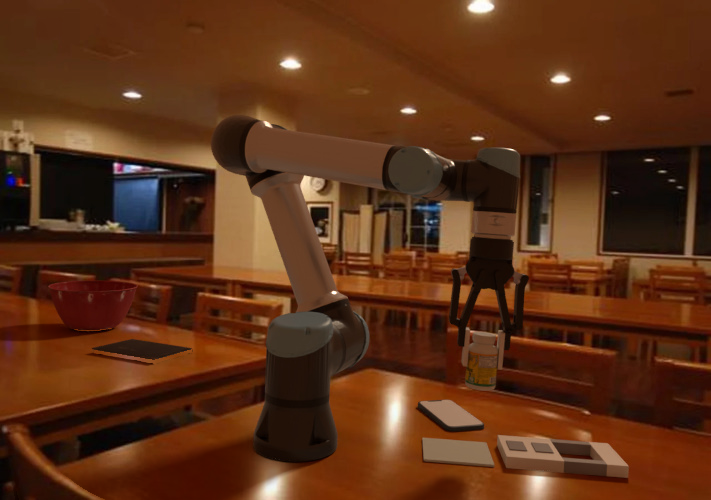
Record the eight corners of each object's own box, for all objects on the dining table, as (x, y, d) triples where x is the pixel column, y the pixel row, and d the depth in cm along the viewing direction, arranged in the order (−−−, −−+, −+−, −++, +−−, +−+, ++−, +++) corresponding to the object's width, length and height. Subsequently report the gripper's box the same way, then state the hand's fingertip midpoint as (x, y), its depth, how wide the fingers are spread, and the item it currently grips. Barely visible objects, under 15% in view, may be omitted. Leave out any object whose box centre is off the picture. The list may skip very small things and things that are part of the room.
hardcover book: (153, 366, 153) (153, 358, 153) (91, 355, 162) (91, 347, 162) (192, 355, 167) (192, 347, 167) (133, 345, 176) (133, 338, 176)
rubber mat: (423, 461, 97) (423, 459, 97) (422, 439, 107) (422, 437, 107) (494, 467, 96) (494, 464, 96) (486, 444, 106) (486, 442, 106)
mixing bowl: (143, 333, 193) (144, 288, 192) (48, 339, 178) (49, 290, 178) (130, 319, 217) (131, 280, 216) (46, 323, 203) (46, 280, 202)
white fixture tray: (506, 468, 96) (506, 455, 96) (497, 445, 106) (497, 433, 106) (628, 477, 94) (629, 465, 94) (607, 453, 104) (607, 442, 104)
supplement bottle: (498, 392, 98) (503, 338, 98) (467, 390, 98) (472, 335, 98) (490, 383, 104) (495, 331, 103) (462, 381, 104) (466, 329, 103)
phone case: (486, 432, 115) (450, 405, 130) (487, 424, 114) (450, 398, 130) (447, 435, 112) (415, 407, 127) (448, 427, 112) (415, 400, 127)
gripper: (441, 233, 97) (430, 366, 98) (551, 241, 95) (538, 376, 96) (438, 232, 104) (428, 356, 105) (540, 240, 103) (528, 365, 104)
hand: (481, 365), depth 101 cm, fingers closed on supplement bottle, 5 cm apart
